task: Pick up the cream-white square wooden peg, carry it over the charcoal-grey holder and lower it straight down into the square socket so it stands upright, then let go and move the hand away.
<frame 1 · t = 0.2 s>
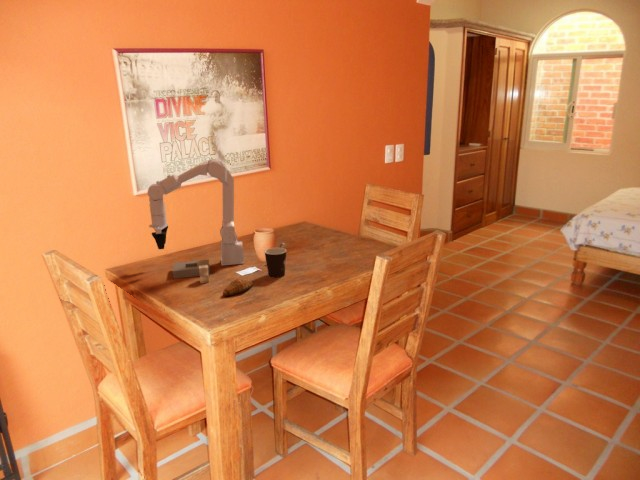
hand: (162, 246, 198), 10 cm above the table, tool pointing down, fingers open, 7 cm apart
holder: (191, 272, 197), on the table
croissant: (238, 292, 176), on the table
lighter: (278, 262, 207), on the table
peg: (204, 281, 187), on the table
coffee mug: (279, 274, 193), on the table
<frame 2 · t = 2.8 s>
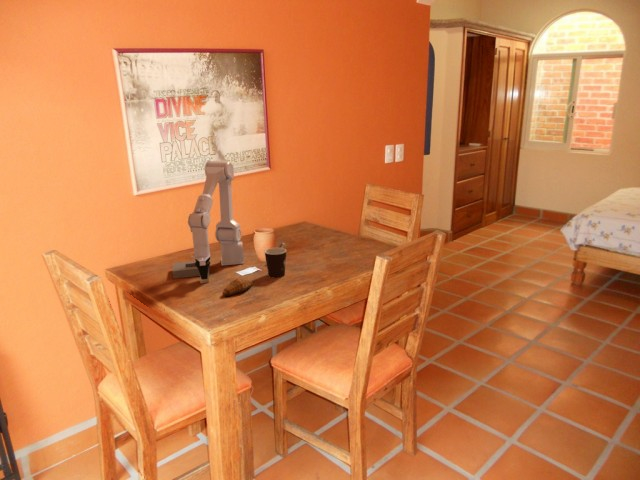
hand: (204, 277, 186), 2 cm above the table, tool pointing down, fingers closed on peg, 3 cm apart
peg: (204, 281, 187), on the table, touching gripper
everything else where it was.
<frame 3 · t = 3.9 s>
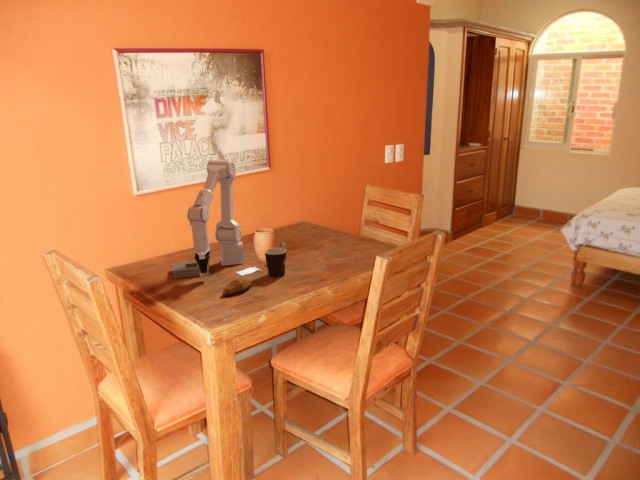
hand: (203, 271, 185), 4 cm above the table, tool pointing down, fingers closed on peg, 3 cm apart
peg: (204, 275, 186), point 2 cm above the table, touching gripper
everything else where it was.
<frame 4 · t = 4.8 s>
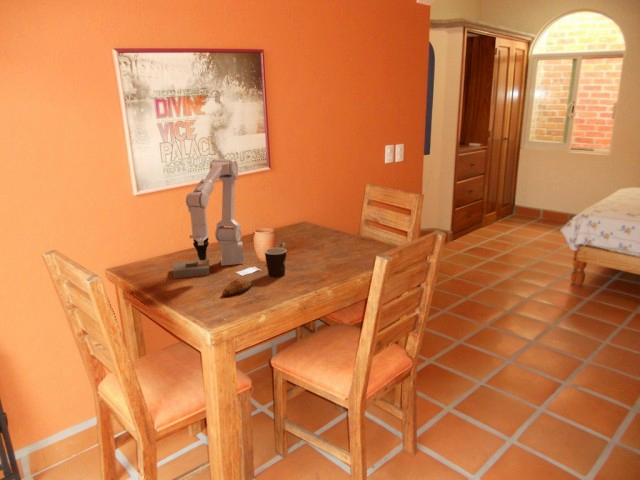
hand: (202, 258, 184), 9 cm above the table, tool pointing down, fingers closed on peg, 3 cm apart
peg: (202, 262, 184), point 8 cm above the table, touching gripper
everything else where it was.
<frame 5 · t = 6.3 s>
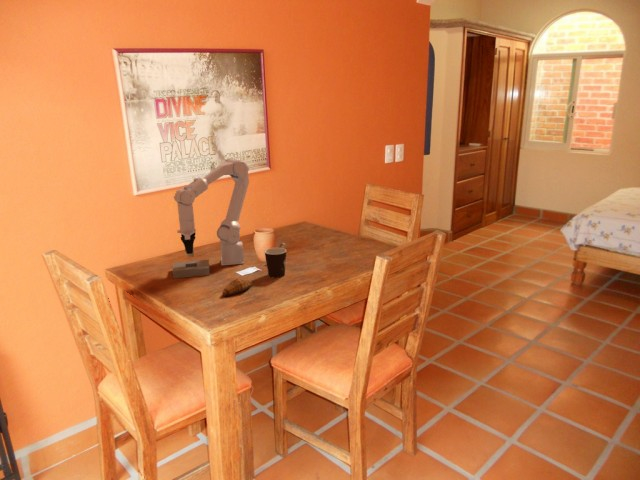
hand: (189, 252, 194), 9 cm above the table, tool pointing down, fingers closed on peg, 3 cm apart
peg: (190, 255, 195), point 7 cm above the table, touching gripper
everything else where it was.
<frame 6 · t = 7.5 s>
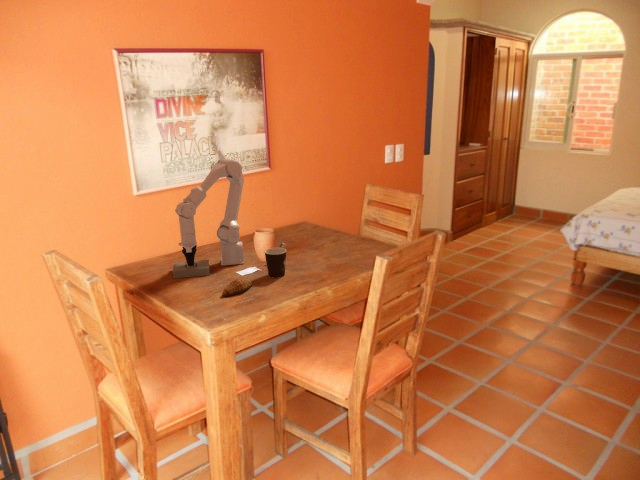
hand: (191, 264, 196), 3 cm above the table, tool pointing down, fingers closed on peg, 3 cm apart
peg: (191, 268, 196), point 2 cm above the table, touching gripper
everything else where it was.
when the fingers open (3 cm above the table, at t = 7.7 s): peg drops 2 cm, resting in holder.
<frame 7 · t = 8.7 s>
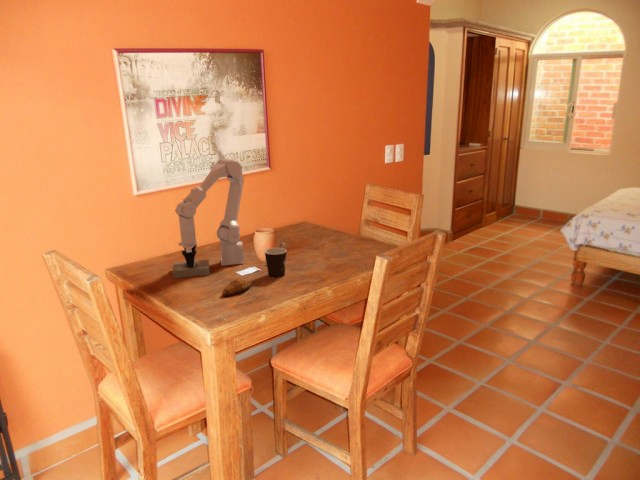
hand: (191, 264, 196), 3 cm above the table, tool pointing down, fingers open, 7 cm apart
peg: (191, 272, 197), resting in holder
everything else where it was.
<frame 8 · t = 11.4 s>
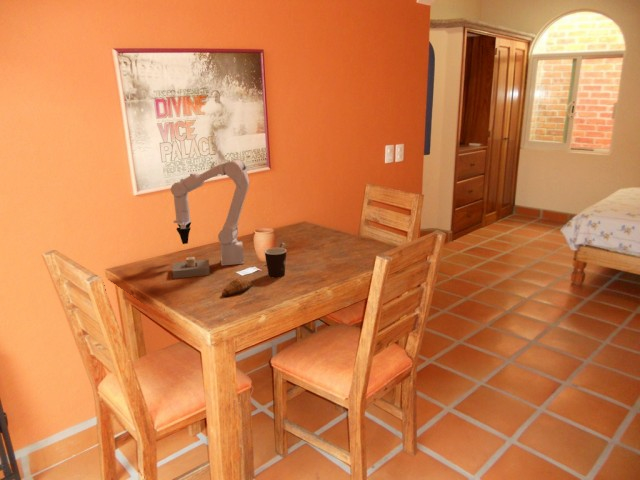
hand: (185, 241, 207), 9 cm above the table, tool pointing down, fingers open, 7 cm apart
nothing on the table moved.
at the end: peg 0.0 cm off-centre on the holder, point 0.0 cm above the holder's base; peg tilted 0°; the gripper is holding nothing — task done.
